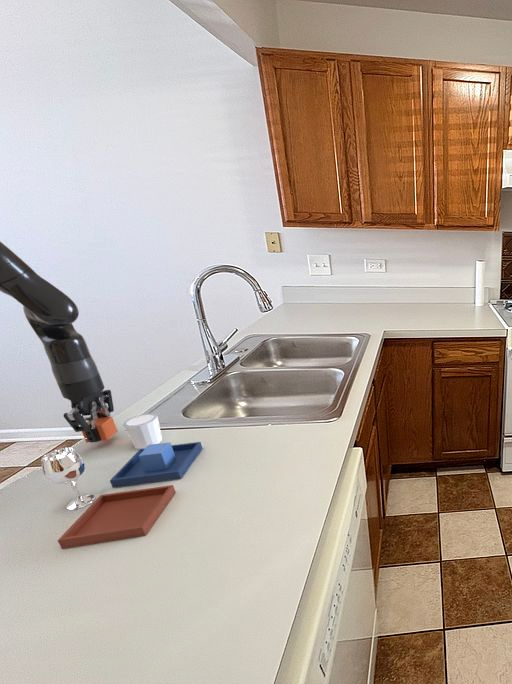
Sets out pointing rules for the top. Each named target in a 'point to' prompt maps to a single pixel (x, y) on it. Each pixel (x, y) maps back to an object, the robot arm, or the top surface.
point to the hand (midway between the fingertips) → (101, 435)
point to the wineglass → (66, 473)
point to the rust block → (104, 428)
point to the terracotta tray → (118, 516)
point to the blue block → (157, 457)
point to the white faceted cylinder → (143, 430)
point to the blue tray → (136, 475)
